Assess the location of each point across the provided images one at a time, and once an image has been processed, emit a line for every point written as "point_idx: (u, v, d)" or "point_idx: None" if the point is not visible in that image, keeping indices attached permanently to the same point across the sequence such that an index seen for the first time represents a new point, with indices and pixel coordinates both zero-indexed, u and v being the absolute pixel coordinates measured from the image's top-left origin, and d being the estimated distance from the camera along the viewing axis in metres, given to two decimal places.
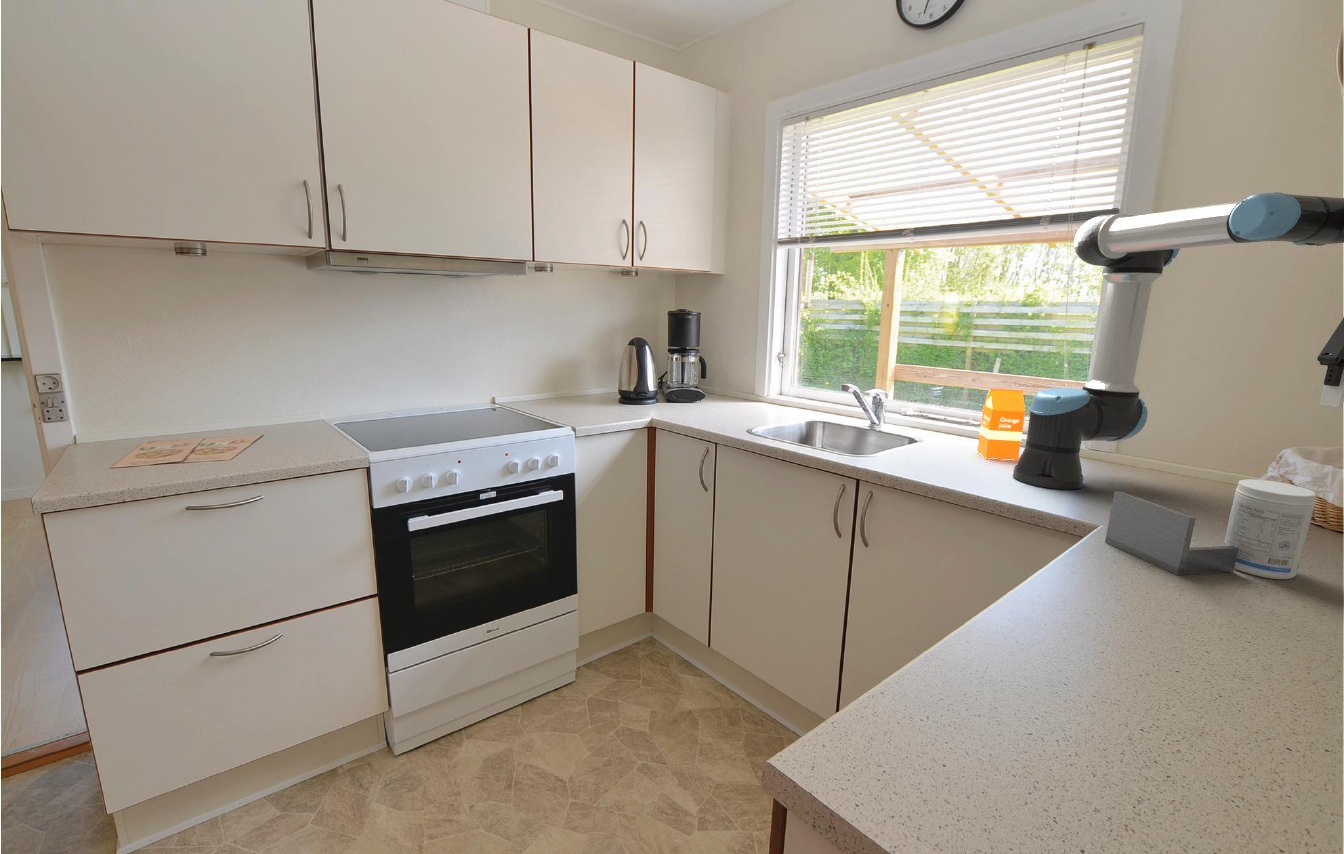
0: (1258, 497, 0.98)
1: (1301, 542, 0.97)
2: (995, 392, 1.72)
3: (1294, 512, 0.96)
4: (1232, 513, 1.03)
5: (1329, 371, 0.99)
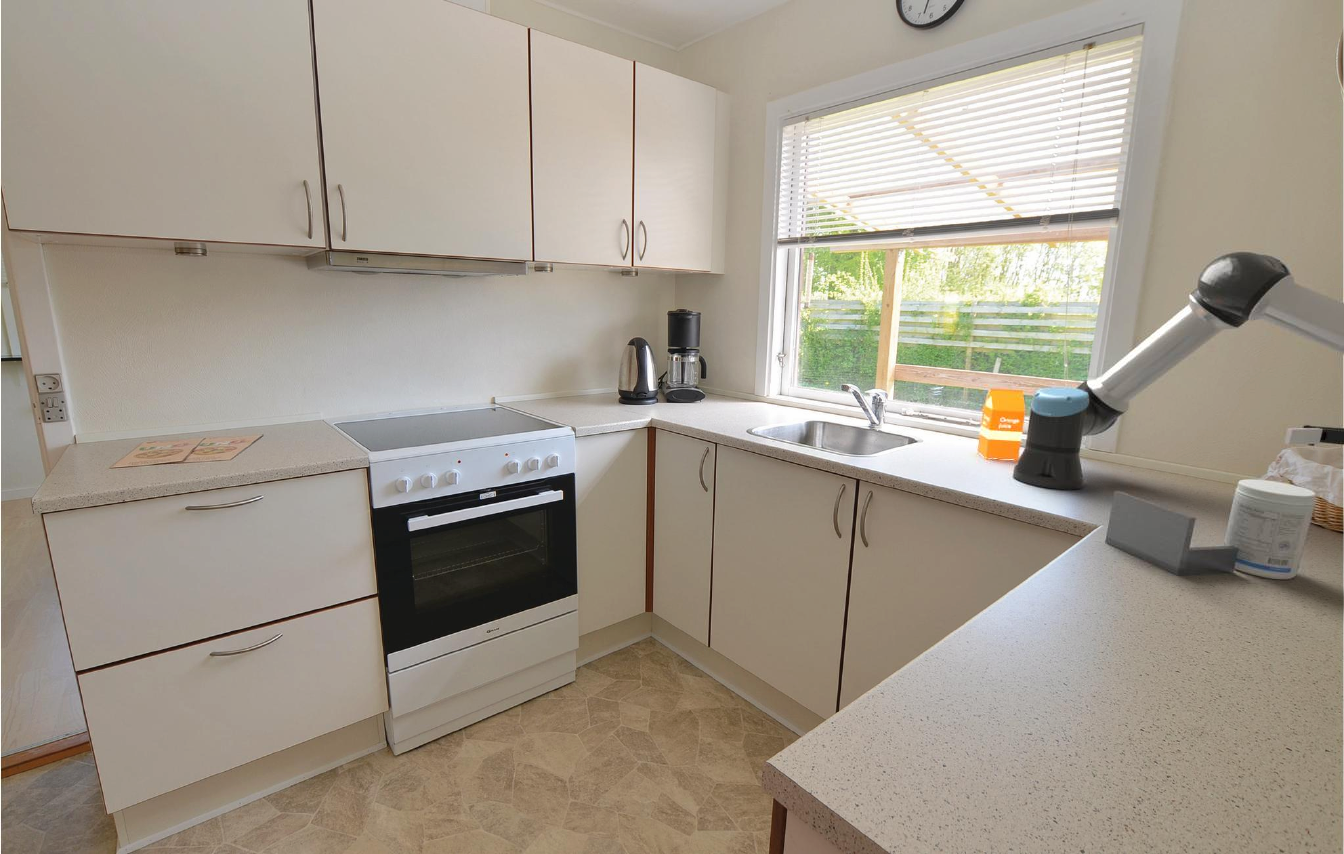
0: (1258, 497, 0.98)
1: (1301, 542, 0.97)
2: (995, 392, 1.72)
3: (1294, 512, 0.96)
4: (1232, 513, 1.03)
5: None
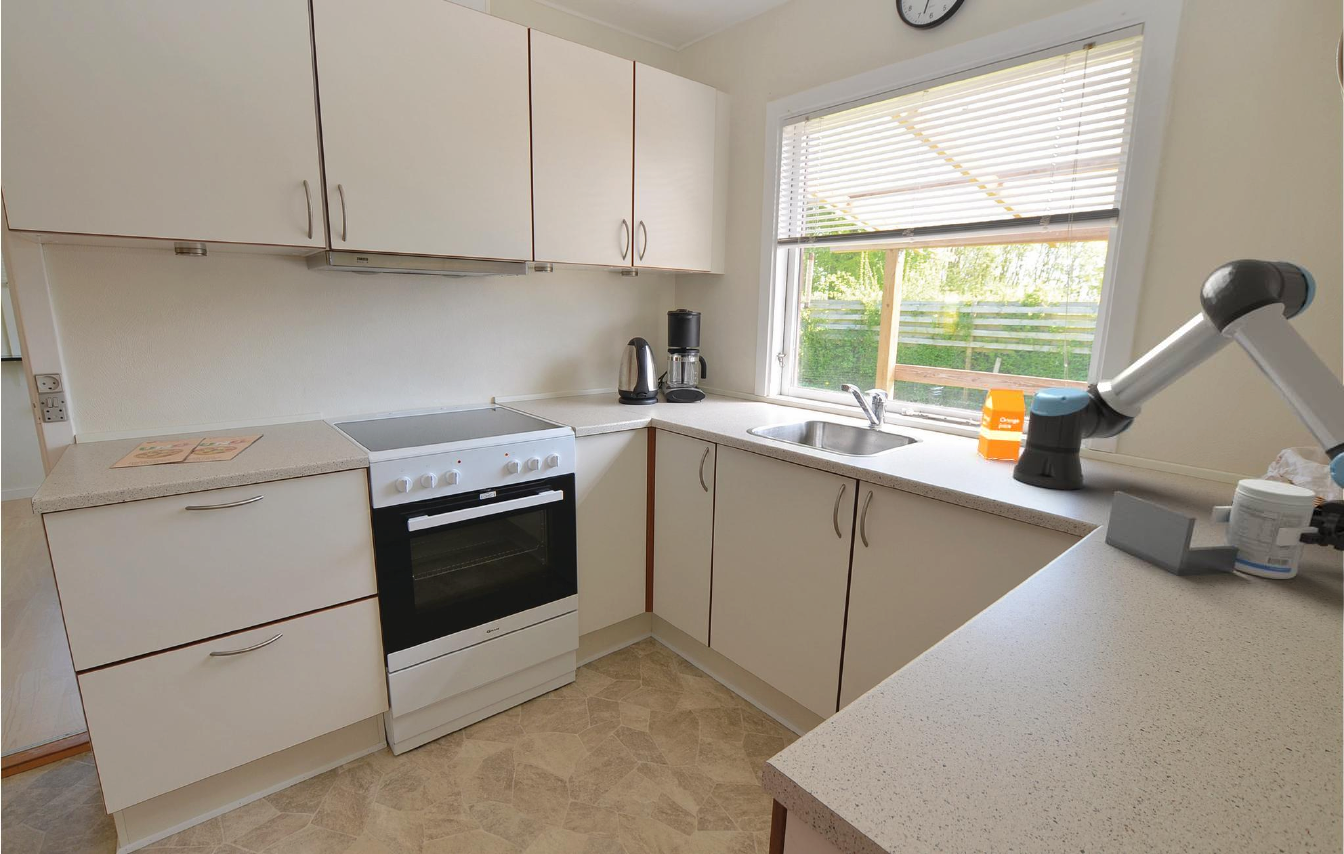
0: (1258, 497, 0.98)
1: None
2: (995, 392, 1.72)
3: (1294, 511, 0.96)
4: (1232, 513, 1.03)
5: (1321, 537, 0.95)
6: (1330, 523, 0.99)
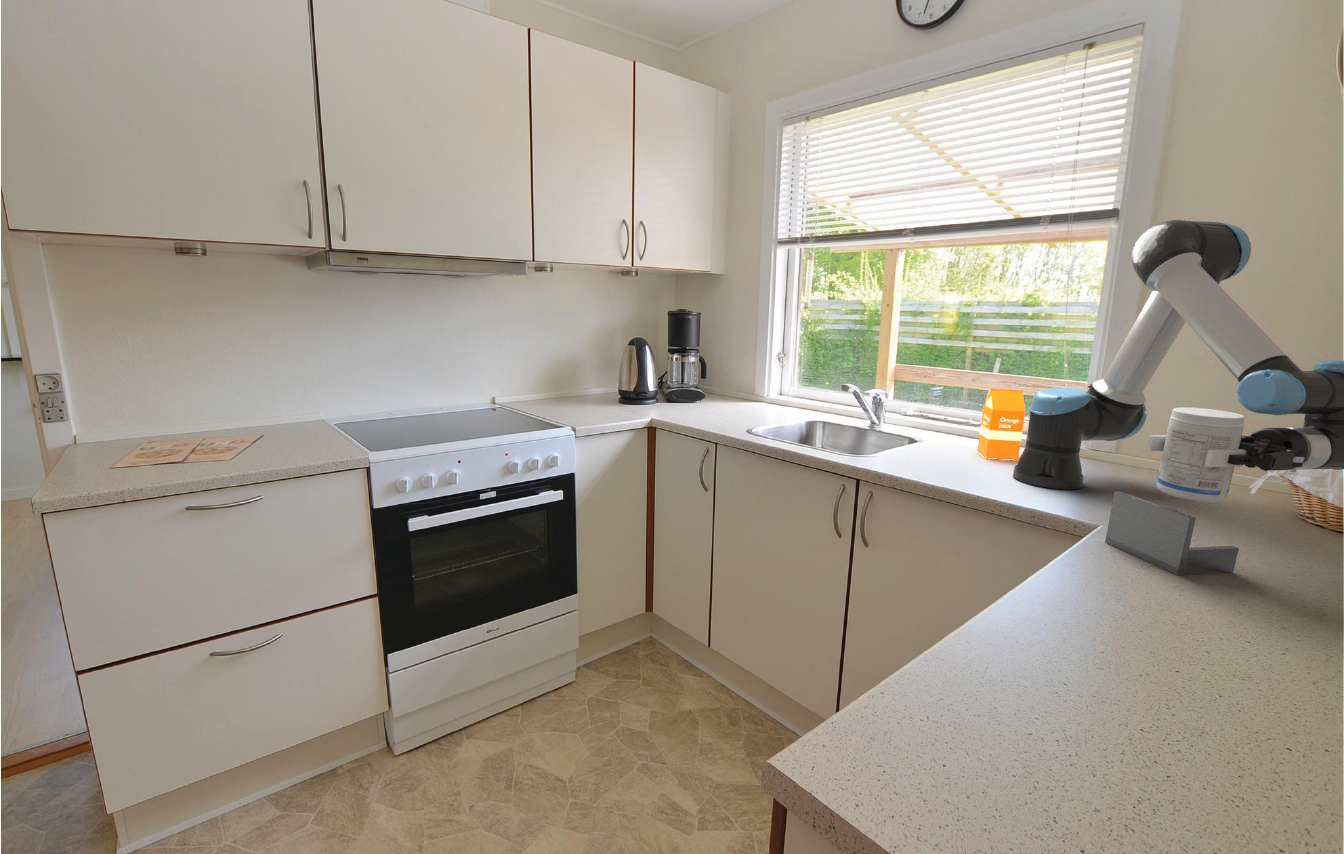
0: (1189, 421, 1.00)
1: None
2: (995, 392, 1.72)
3: (1223, 434, 0.97)
4: (1166, 440, 1.04)
5: (1248, 458, 0.96)
6: (1259, 447, 1.00)
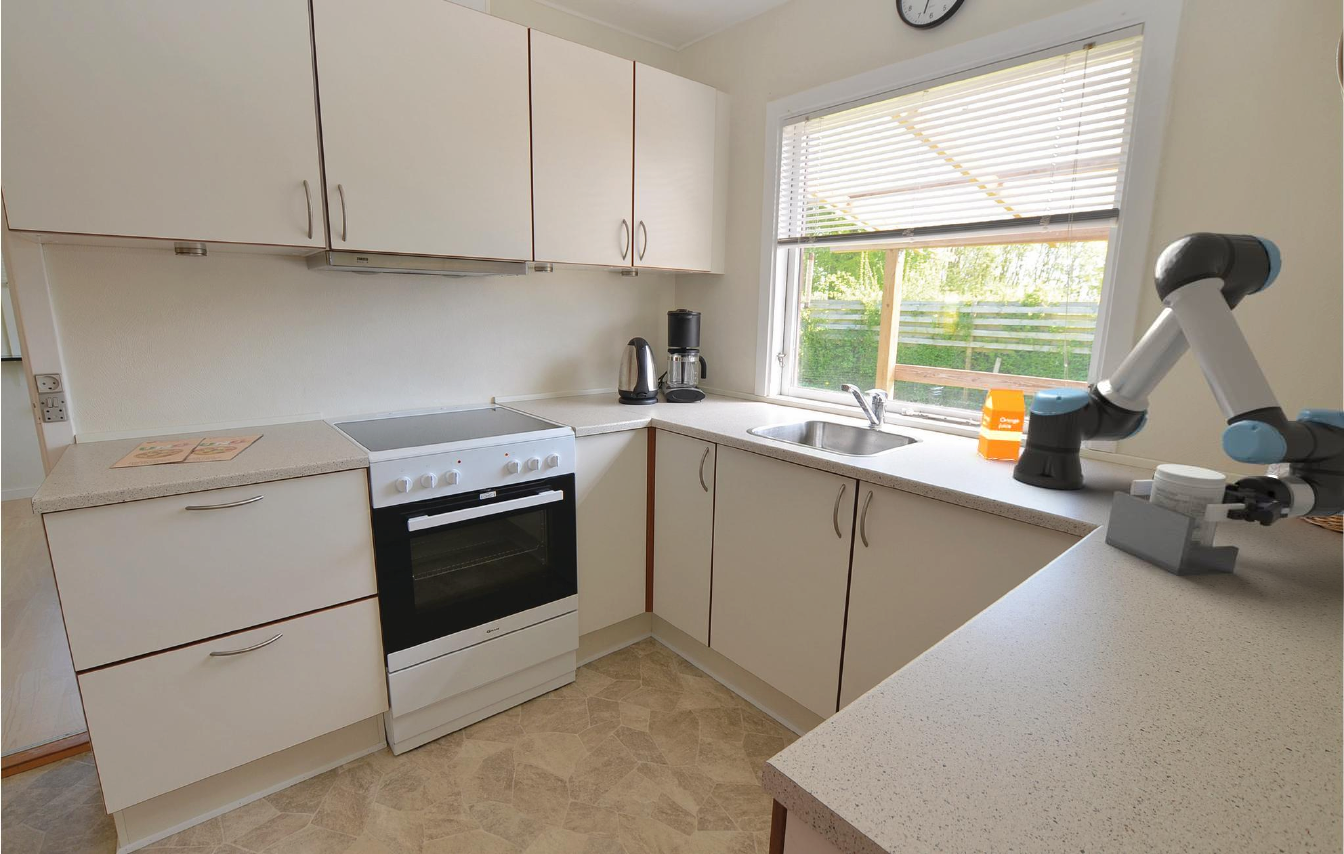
0: (1172, 481, 1.02)
1: (1213, 523, 1.01)
2: (995, 392, 1.72)
3: (1205, 494, 1.00)
4: (1151, 496, 1.07)
5: (1247, 513, 0.97)
6: (1250, 498, 1.02)
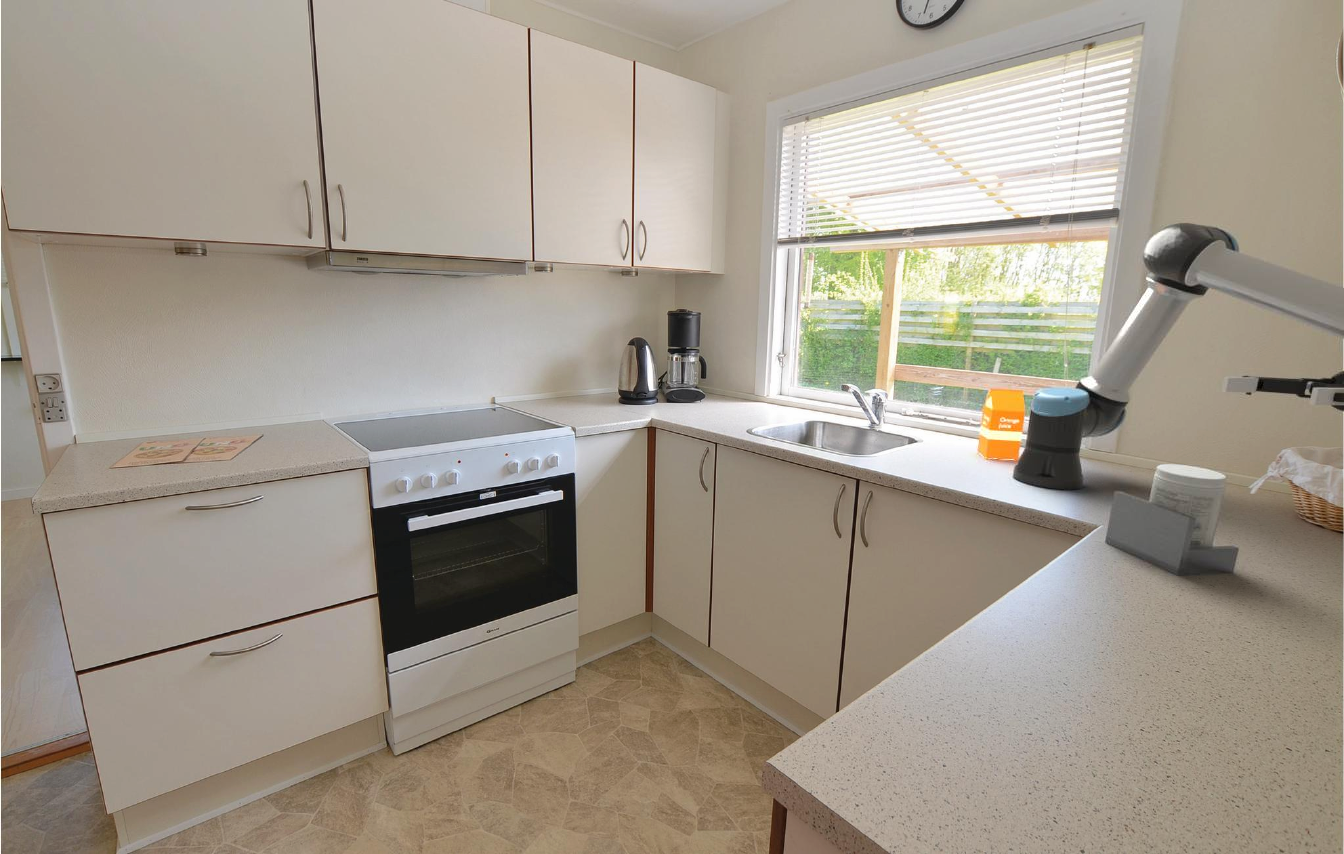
0: (1172, 481, 1.02)
1: (1213, 523, 1.01)
2: (995, 392, 1.72)
3: (1205, 494, 1.00)
4: (1151, 496, 1.07)
5: None
6: None
